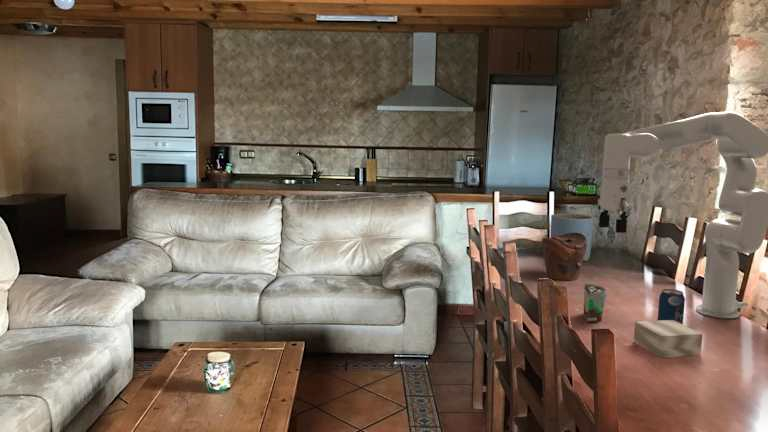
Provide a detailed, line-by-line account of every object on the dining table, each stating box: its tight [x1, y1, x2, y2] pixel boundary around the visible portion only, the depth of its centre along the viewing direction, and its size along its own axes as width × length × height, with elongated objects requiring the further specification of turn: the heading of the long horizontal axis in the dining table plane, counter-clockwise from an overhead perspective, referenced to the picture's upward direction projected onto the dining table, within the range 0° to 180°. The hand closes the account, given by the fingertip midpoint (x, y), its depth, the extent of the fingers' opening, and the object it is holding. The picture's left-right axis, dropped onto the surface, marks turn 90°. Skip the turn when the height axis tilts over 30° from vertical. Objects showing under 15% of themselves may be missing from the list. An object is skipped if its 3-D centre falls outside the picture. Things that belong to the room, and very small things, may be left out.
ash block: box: [633, 320, 703, 359], centre depth 163 cm, size 12×12×6 cm
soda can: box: [656, 288, 686, 325], centre depth 178 cm, size 7×7×12 cm
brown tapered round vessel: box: [540, 233, 587, 281], centre depth 242 cm, size 18×20×18 cm
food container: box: [582, 283, 608, 324], centre depth 188 cm, size 12×6×10 cm, turn 168°
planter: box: [550, 213, 595, 262], centre depth 279 cm, size 19×19×20 cm
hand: (612, 229), depth 183 cm, fingers open, 9 cm apart
